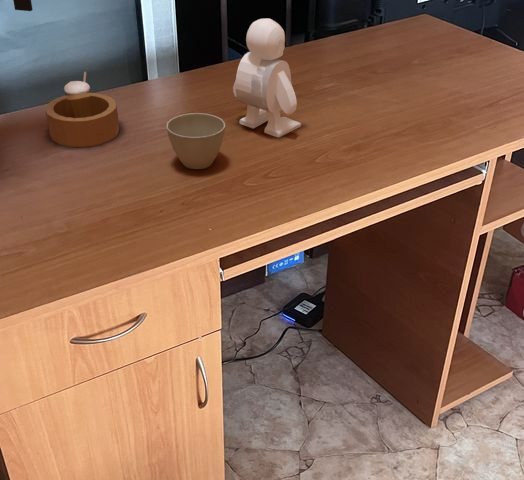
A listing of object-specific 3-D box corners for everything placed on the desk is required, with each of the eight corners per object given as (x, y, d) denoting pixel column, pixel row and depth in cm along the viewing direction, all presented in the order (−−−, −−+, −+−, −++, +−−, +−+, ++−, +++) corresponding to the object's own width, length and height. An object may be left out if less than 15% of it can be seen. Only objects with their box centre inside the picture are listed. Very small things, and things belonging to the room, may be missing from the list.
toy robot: (309, 128, 149) (313, 20, 136) (280, 145, 144) (282, 33, 131) (252, 109, 156) (252, 4, 143) (223, 124, 151) (219, 16, 138)
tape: (39, 143, 144) (34, 117, 141) (65, 115, 154) (61, 90, 150) (105, 150, 142) (102, 123, 139) (128, 120, 152) (125, 95, 149)
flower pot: (225, 176, 135) (224, 137, 130) (167, 176, 135) (164, 137, 130) (226, 150, 142) (225, 112, 138) (171, 150, 142) (168, 112, 138)
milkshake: (102, 125, 150) (95, 73, 143) (86, 136, 146) (78, 84, 139) (82, 121, 151) (75, 69, 145) (66, 132, 147) (57, 79, 141)
